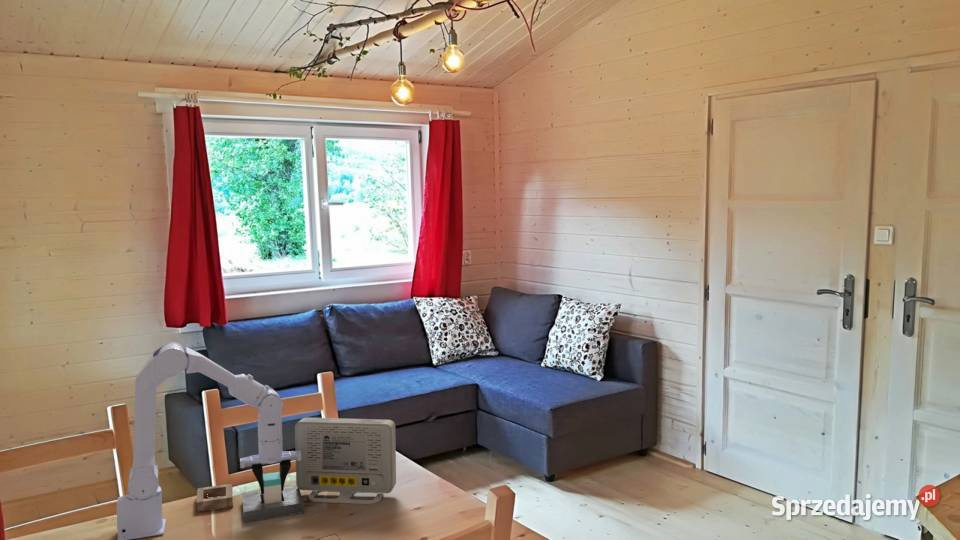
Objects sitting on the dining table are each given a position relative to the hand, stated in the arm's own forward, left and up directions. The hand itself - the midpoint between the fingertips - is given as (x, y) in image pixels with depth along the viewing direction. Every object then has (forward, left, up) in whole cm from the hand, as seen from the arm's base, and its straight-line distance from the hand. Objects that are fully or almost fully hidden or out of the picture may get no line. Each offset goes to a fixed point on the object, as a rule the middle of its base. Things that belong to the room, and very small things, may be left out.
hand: (272, 491), depth 171 cm
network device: (+18, 0, -4) cm, 19 cm away
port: (0, 0, -4) cm, 4 cm away
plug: (0, 0, -4) cm, 4 cm away
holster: (-14, +9, -4) cm, 17 cm away
